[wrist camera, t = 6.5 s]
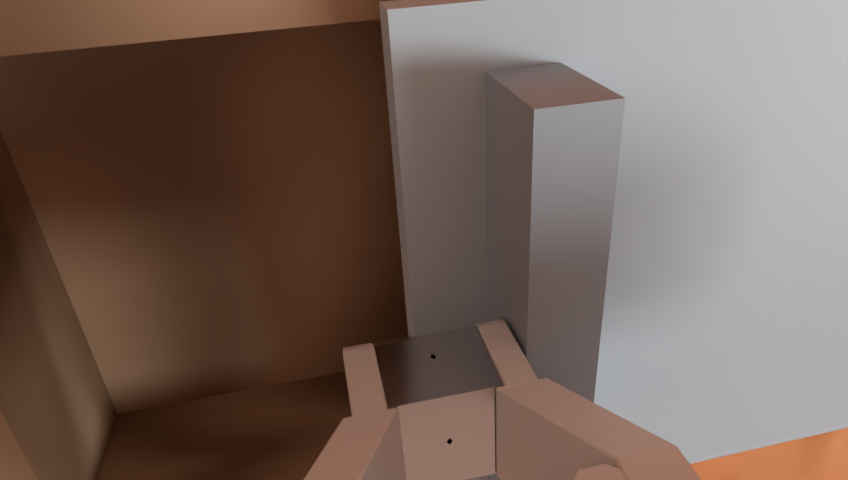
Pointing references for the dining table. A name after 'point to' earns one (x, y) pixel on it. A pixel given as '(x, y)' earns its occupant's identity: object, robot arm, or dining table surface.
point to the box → (189, 233)
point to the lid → (635, 201)
